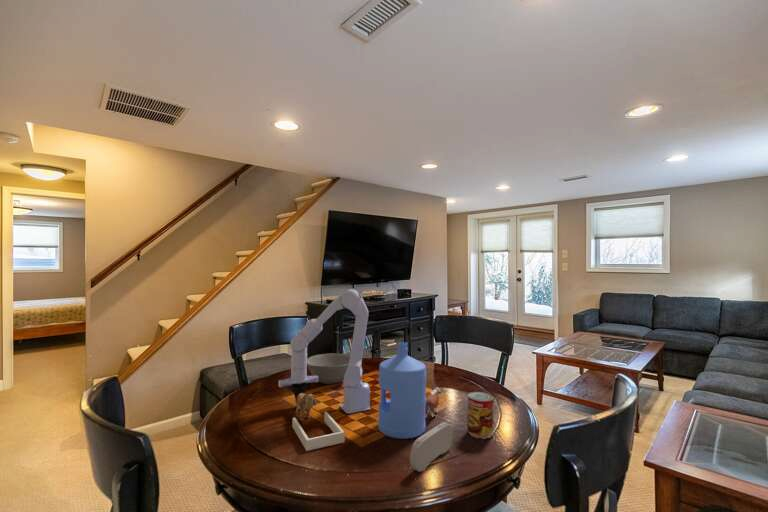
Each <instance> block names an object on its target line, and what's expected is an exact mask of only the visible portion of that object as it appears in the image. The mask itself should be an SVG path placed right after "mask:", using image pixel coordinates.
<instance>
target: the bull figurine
mask: <svg viewBox="0 0 768 512" xmlns="http://www.w3.org/2000/svg"><path fill="white" fill-rule="evenodd" d="M442 395H443V393H442V391H441V389H440V388H439V387H435V388H434V387H432V388H431V392H430V393H429V394H428V396H426V405H425V418H427V419H428V413H430V416H431V417H432V418H433V417H434V416H435V411H437V412H438V410H437V409H438V405H439V401H440V400H439V399H440V398H439V396H442Z"/></svg>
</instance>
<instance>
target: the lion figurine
mask: <svg viewBox="0 0 768 512" xmlns="http://www.w3.org/2000/svg"><path fill="white" fill-rule="evenodd" d="M318 401H319V400H318V399H317V398H316V397H315V396H314V394H312V393H308V394H305V392H304V393H300V394H299V395H298V396H297V402H296V401H295V404H296V403H297V404H296V405H295V408H296V409H295V412H294V414H300V419H299V420H300V421H304V418H305V416H304V412H305V413H306V418H307V419H310V418H311V415H310V413H311V410H312V409H313V408H314V406H316V405H317V403H318ZM299 412H300V413H299Z"/></svg>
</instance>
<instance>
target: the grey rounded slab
mask: <svg viewBox="0 0 768 512" xmlns="http://www.w3.org/2000/svg"><path fill="white" fill-rule="evenodd" d="M453 439H454V431H453V427H452V425H450V424H449V423H447V422H444V421H443V422H441V423H439V424H438V425H436V426H435V427H433V428H432V429H429V430H428V431H426V432H425V433H423V434H421V435H420V436H418V437H417V438H416V440H414V442H413V444H412V446H411V450H410V454H409V463H410V464H409V465H410V467H411V468H412V469H413V470H414V471H417V472H420V473H421V471H422V470H424V469H425V468H426V467H427V466H429V465H430V463H431V462H432V461H434V460H435V459H437V457H439V456H440V455H444V454H443V453H444V452H445V451H447V449H449V448H450V449H451V447H452V443H453ZM450 449H449V450H450ZM427 468H428V467H427ZM427 468H426V469H427ZM426 469H425V470H426ZM425 470H424V471H425ZM422 472H423V471H422Z"/></svg>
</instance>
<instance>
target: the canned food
mask: <svg viewBox="0 0 768 512" xmlns="http://www.w3.org/2000/svg"><path fill="white" fill-rule="evenodd" d="M468 431H469V432H471V433H473V434H477V435H489V434H491V433H492V432H493V433H494V396H493V395H491V394H489V393H487V392H483V391H471V392H469V393H468V395H467V432H468Z"/></svg>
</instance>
